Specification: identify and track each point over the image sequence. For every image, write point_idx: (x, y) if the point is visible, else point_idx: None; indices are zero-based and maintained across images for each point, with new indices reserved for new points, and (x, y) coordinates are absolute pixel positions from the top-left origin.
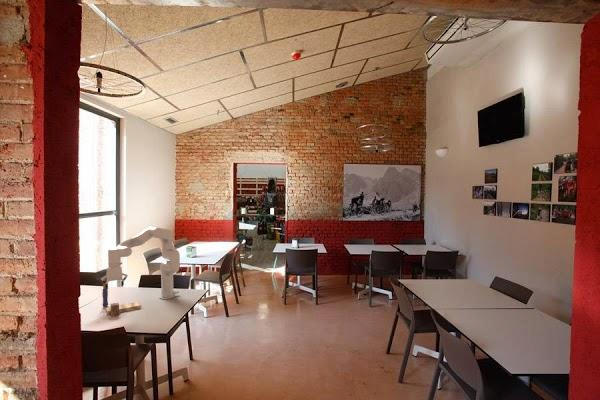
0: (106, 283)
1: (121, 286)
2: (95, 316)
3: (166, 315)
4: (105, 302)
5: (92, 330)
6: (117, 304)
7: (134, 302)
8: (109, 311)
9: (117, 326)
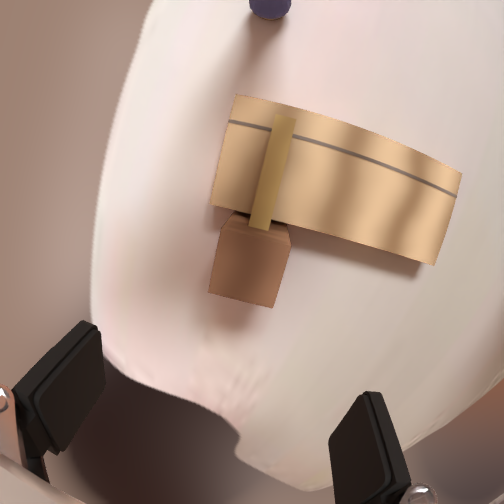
0: (32, 448)
1: (344, 416)
2: (149, 168)
3: (400, 425)
4: (265, 4)
5: (111, 361)
6: (261, 298)
7: (438, 164)
8: (225, 207)
9: (204, 404)
